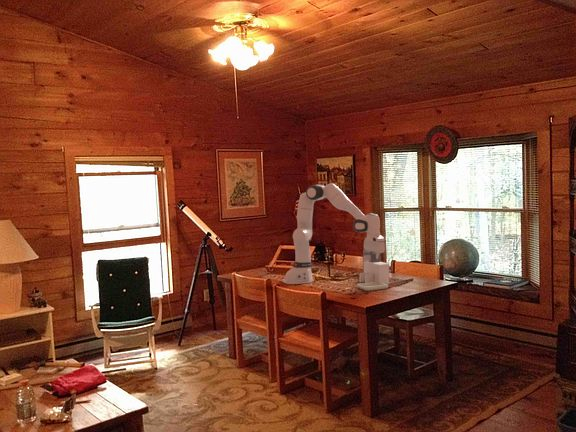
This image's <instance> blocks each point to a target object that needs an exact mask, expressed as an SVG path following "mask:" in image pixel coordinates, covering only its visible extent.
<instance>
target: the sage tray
mask: <svg viewBox="0 0 576 432" xmlns="http://www.w3.org/2000/svg"><path fill="white" fill-rule="evenodd" d="M356 288H357V289H360V290H362V289H363V291H364V292H370V291H378V290H386V289H389V284H384V283H381V282H370V283H365V282H361V283H356Z"/></svg>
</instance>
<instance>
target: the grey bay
mask: <svg viewBox="0 0 576 432" xmlns="http://www.w3.org/2000/svg"><path fill="white" fill-rule="evenodd" d="M358 277H359V284H361V283H370V282H381V283H384V284H388V285H389V284H390V263H388V262H385V261H384V262H383V261H381V262H375V263H371V262H369V261H366V262H364V273H363V272H360V273H359V276H358Z"/></svg>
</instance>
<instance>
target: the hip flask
mask: <svg viewBox="0 0 576 432" xmlns="http://www.w3.org/2000/svg"><path fill="white" fill-rule="evenodd" d="M368 253H369V252H368V250H362V273H364V255H368ZM372 253H373V251H372ZM381 254H382V253H380V262H382V261H381V256H382V255H381Z"/></svg>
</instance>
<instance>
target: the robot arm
mask: <svg viewBox="0 0 576 432" xmlns="http://www.w3.org/2000/svg"><path fill="white" fill-rule="evenodd" d="M325 199H327V200H328V201H329V202H330V204H331V205H332V206H333V207H335V208H336V209H338V210H340V211H341V210H342V211H346V212H347V213H349V214H350V215H352V216H353V218H354V219H355V220H354V221H353V223H352V228H353V230H354V231H355V232H356V233H366V237H364V240H363V251H368V252H369V253H372V251H373V252H376V256H375V259H378V256H379V253H381V254H382V253H385V251H386V248H385V247H386V246H385V237H384V236H382V235H381V231H380V229H381V223H380V222H381V220H380V219H381V218H380V217H379V215H378V214H376V213H372V212H370V213H367V214H366V215H365V214H364V213H363V212H362V210H361V209H359V208H358V206H356V205H355V204H354V203H353V201H352V200H350V198H349V197H348V196H347V195H346V193H344V192H343V190H342V189H341V188H339V186H337V185H336V184H335V183H331V182H330V183H328V184H326V185H325V184H318V183H317V184H312V185H310V186H308V187H307V188H306V190H305V192H302V193H301V194H300V196H299V200H298V202H297V203H298V205H297V211H296V221H297V222H296V223H297V228H296V229H295V230H294V231H293V233H292V239H293V246H294V253H295V258H294V259H295V261H294V262H293V261H291V262H290V265H291V266H292V267H291V268H290V269H289V270H288V271H287V272H286V273H285V275H284V276H285V277H284V279H282V281H281V282H282V283H284V284H286V285H298V284H299V285H301V284H311V282H313V281H314V278H313V275H312V260H311V259H312V258H311V257H312V255H311V254H312V252H311V248H310V240H311V238H312V237H313V214H314V204H315V202H316V201H321V200H325Z"/></svg>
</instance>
